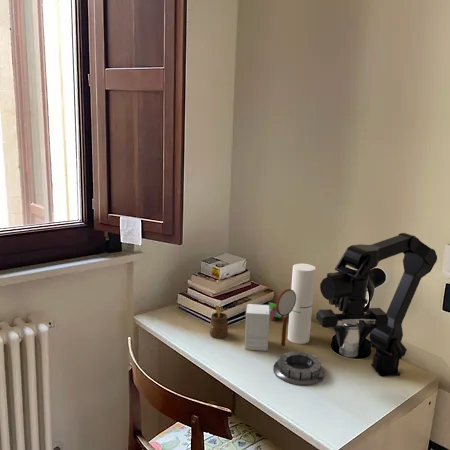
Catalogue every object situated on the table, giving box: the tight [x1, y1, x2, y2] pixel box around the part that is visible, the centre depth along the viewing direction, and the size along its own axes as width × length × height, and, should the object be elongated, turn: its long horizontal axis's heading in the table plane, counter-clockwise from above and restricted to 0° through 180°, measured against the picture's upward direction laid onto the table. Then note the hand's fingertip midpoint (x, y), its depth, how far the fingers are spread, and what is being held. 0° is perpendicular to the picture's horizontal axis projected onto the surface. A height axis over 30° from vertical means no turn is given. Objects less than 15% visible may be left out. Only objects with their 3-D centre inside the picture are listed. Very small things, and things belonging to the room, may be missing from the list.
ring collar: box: [272, 351, 326, 387], centre depth 150 cm, size 15×15×3 cm
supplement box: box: [244, 303, 271, 352], centre depth 163 cm, size 7×7×13 cm
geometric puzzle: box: [266, 299, 283, 321], centre depth 184 cm, size 7×7×8 cm
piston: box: [338, 321, 361, 358], centre depth 141 cm, size 5×5×9 cm
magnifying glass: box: [275, 288, 296, 349], centre depth 161 cm, size 9×2×20 cm, turn 132°
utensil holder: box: [209, 301, 229, 339], centre depth 169 cm, size 6×6×12 cm
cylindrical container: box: [287, 263, 317, 345], centre depth 167 cm, size 7×7×25 cm
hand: (349, 346), depth 141 cm, fingers closed on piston, 5 cm apart
